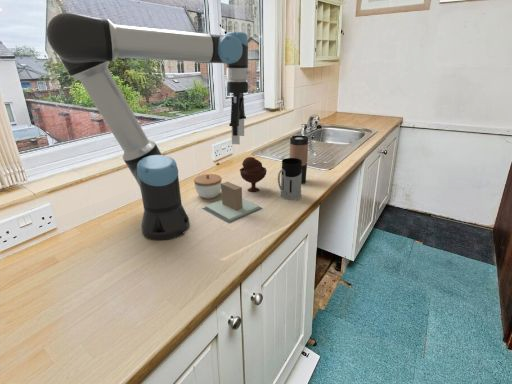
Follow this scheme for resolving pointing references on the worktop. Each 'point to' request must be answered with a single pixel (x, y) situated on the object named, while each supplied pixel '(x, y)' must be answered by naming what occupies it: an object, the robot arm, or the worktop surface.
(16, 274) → the worktop surface
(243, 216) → the square tray
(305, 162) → the travel mug
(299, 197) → the glass holder
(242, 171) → the ice cream bowl
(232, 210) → the board
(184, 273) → the worktop surface
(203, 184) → the lidded jar
